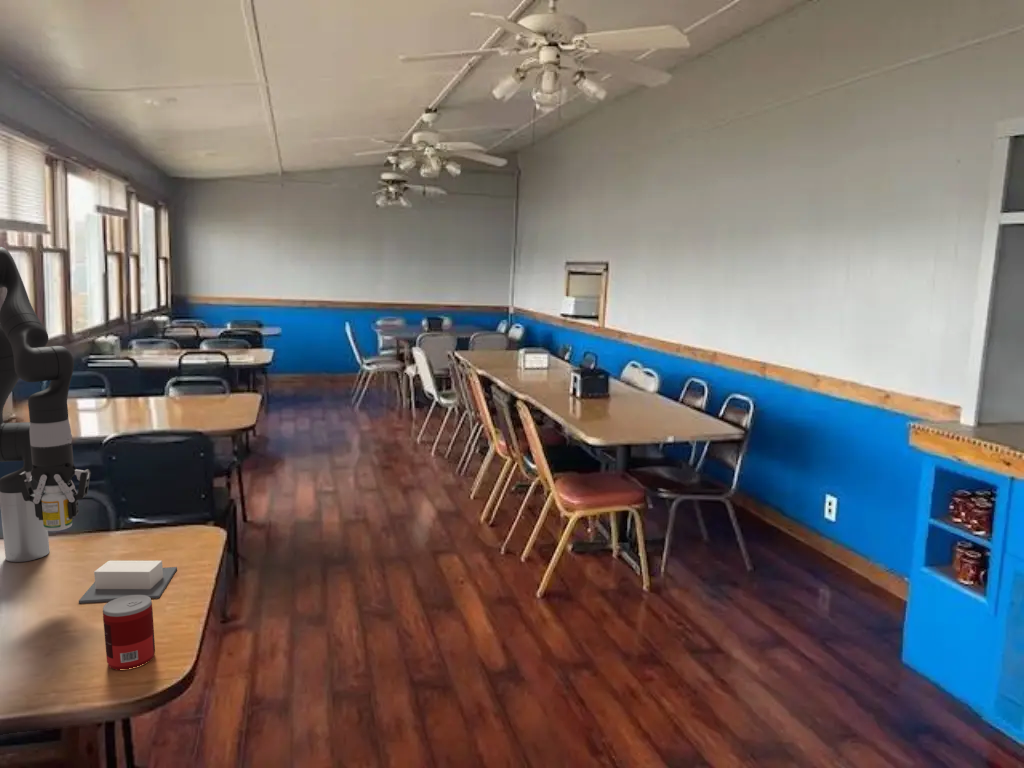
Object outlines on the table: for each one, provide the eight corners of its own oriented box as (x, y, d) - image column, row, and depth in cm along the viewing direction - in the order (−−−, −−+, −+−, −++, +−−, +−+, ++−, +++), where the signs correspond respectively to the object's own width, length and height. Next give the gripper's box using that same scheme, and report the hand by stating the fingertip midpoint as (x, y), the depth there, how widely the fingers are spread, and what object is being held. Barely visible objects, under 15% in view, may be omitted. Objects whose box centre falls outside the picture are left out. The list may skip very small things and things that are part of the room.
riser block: (110, 577, 176) (108, 560, 175) (163, 577, 176) (162, 560, 175) (95, 589, 170) (94, 571, 169) (150, 589, 170) (149, 571, 169)
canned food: (164, 655, 143) (161, 598, 141) (127, 675, 136) (122, 616, 134) (135, 646, 146) (131, 591, 144) (97, 665, 139) (92, 608, 137)
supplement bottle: (49, 533, 162) (45, 489, 160) (39, 527, 165) (36, 484, 164) (76, 526, 166) (73, 483, 164) (67, 521, 169) (63, 478, 168)
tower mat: (103, 573, 179) (103, 571, 179) (177, 569, 182) (176, 566, 182) (78, 603, 164) (78, 600, 164) (159, 598, 167) (158, 595, 166)
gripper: (5, 446, 158) (13, 526, 160) (81, 444, 160) (87, 522, 163) (21, 438, 165) (28, 514, 168) (94, 436, 167) (100, 511, 170)
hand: (57, 518), depth 165 cm, fingers closed on supplement bottle, 5 cm apart
